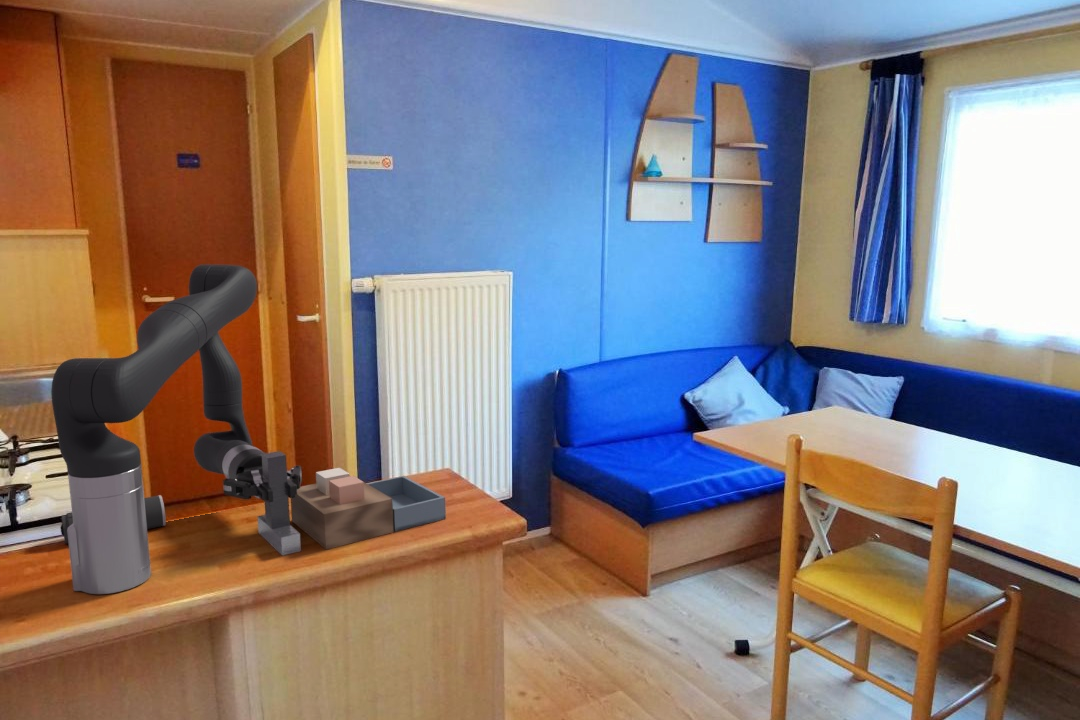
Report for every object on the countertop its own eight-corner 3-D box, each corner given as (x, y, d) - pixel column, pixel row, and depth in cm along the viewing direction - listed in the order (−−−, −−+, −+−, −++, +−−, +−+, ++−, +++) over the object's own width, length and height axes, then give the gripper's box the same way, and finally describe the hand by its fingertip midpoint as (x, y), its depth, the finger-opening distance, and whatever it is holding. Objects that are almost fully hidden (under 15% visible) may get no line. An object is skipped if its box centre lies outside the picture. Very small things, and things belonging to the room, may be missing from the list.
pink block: (339, 504, 126) (339, 487, 126) (329, 497, 130) (328, 480, 129) (364, 499, 129) (363, 482, 129) (353, 492, 132) (353, 475, 132)
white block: (326, 495, 131) (325, 478, 131) (316, 488, 135) (315, 472, 134) (350, 489, 134) (349, 473, 133) (340, 483, 137) (339, 467, 137)
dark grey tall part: (282, 555, 120) (276, 464, 118) (258, 532, 130) (253, 448, 128) (300, 551, 122) (295, 461, 120) (276, 528, 132) (270, 445, 129)
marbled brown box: (326, 549, 123) (324, 514, 122) (291, 520, 135) (290, 488, 134) (393, 532, 130) (392, 498, 129) (354, 506, 143) (353, 475, 142)
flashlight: (63, 550, 123) (59, 518, 123) (61, 540, 128) (58, 509, 127) (166, 529, 132) (164, 499, 131) (161, 520, 136) (159, 491, 136)
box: (395, 531, 130) (394, 509, 130) (356, 506, 143) (355, 485, 142) (445, 518, 136) (445, 497, 136) (404, 495, 149) (403, 475, 148)
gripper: (206, 455, 131) (235, 480, 118) (287, 442, 140) (322, 463, 126) (209, 497, 132) (238, 526, 119) (289, 481, 141) (325, 507, 127)
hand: (281, 494), depth 122 cm, fingers closed on dark grey tall part, 3 cm apart
